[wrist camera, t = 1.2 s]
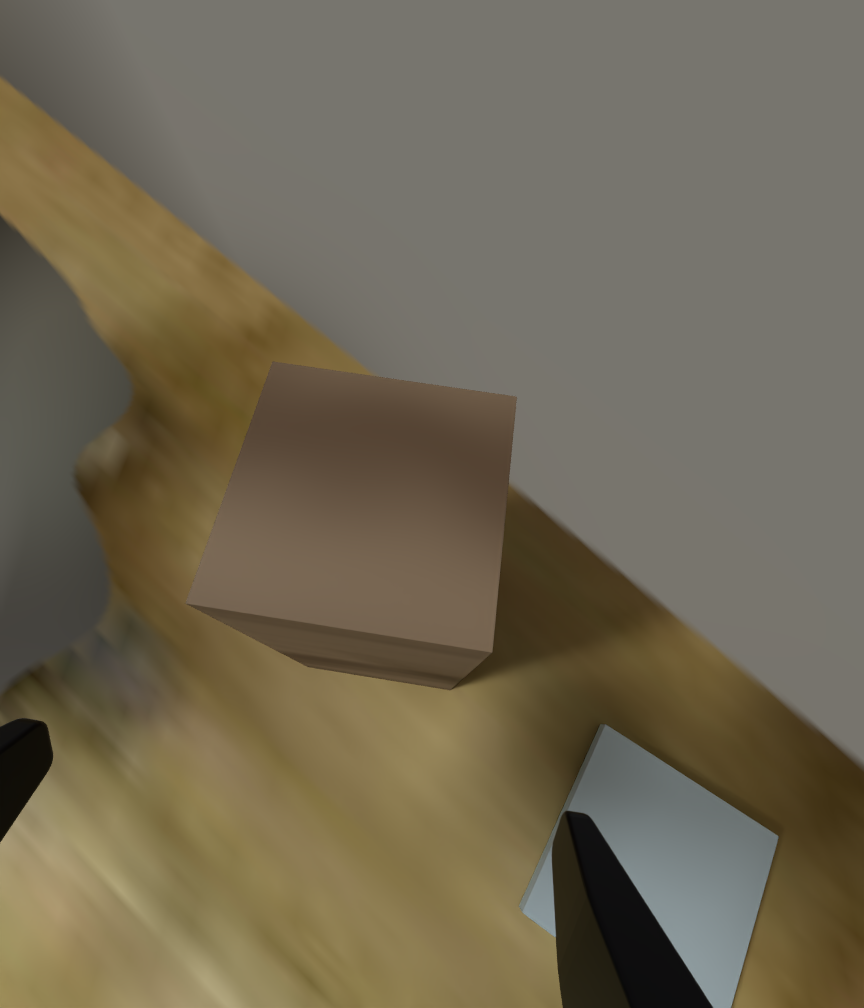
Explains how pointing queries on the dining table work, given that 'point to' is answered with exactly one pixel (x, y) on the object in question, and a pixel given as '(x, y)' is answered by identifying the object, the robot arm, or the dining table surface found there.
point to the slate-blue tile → (670, 857)
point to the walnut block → (364, 525)
